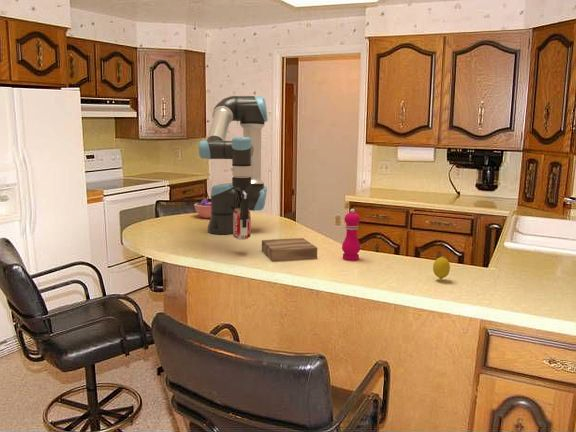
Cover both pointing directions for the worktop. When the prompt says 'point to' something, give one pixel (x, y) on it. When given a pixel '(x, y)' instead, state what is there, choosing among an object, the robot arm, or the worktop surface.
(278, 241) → the walnut board
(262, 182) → the robot arm
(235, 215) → the soda can
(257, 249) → the worktop surface
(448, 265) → the lemon
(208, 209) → the cell model
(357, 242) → the pepper mill
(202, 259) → the worktop surface
